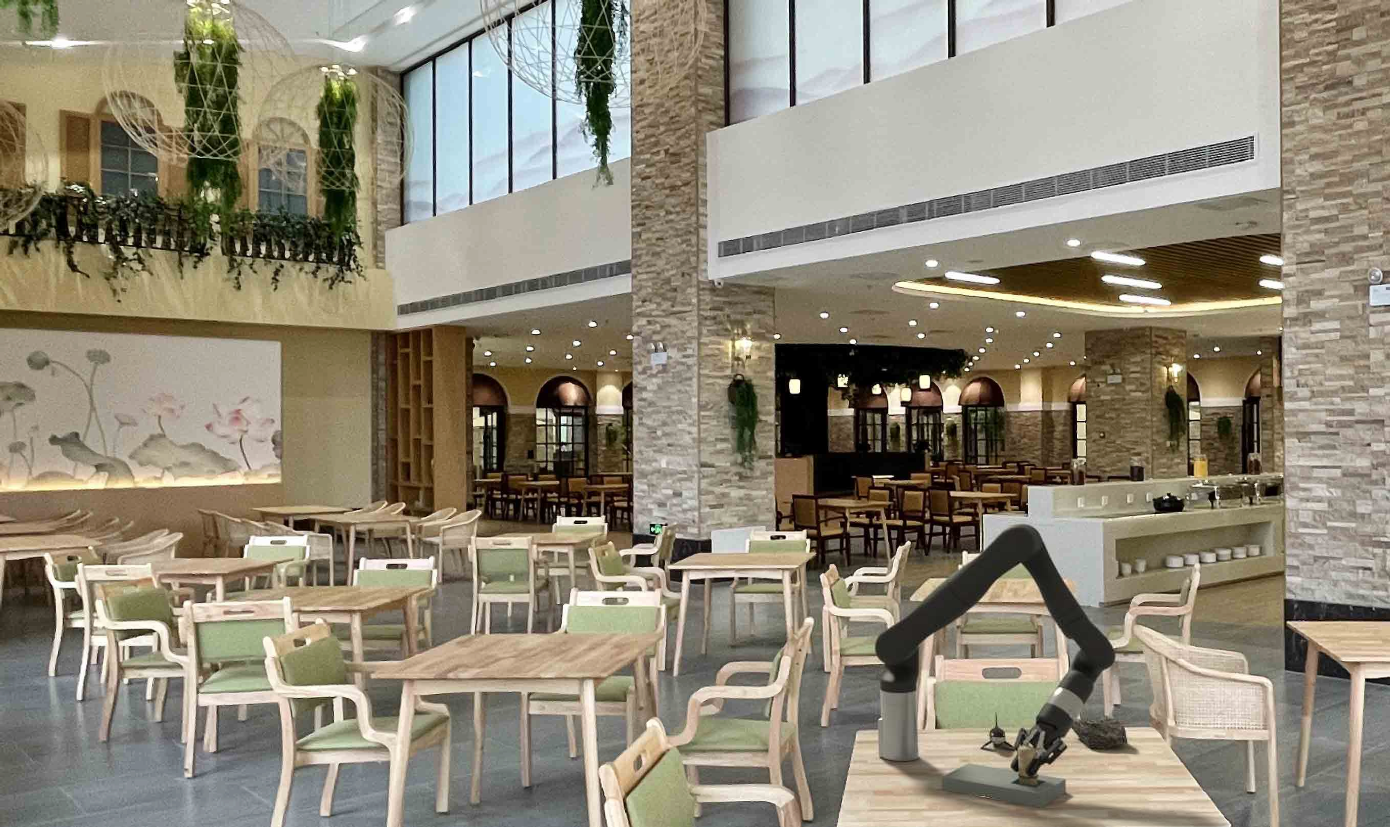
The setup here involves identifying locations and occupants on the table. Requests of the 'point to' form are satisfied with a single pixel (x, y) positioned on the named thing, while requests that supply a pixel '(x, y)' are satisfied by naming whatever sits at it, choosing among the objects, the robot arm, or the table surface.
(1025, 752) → the peg
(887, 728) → the robot arm
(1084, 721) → the rock
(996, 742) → the toy
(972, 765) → the board
